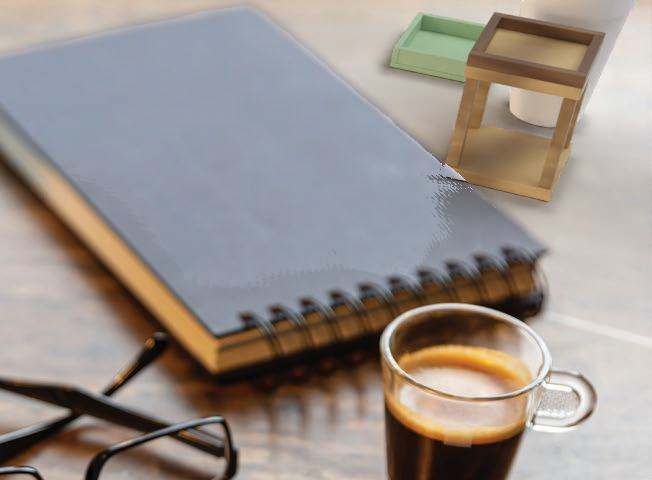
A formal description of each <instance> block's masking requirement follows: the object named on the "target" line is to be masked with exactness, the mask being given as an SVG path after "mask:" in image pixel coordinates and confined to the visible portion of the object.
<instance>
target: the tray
mask: <svg viewBox="0 0 652 480" xmlns="http://www.w3.org/2000/svg"><path fill="white" fill-rule="evenodd" d="M415 15H416V16H415V17H414V18H413V20H412V21H411V22H410V24H409V25H408V27H407V28H406V30H405V31H404V32H403V33H402V34H401V36H400V38H399V39H398V41H397V42H396V43H395V44H394V46H393V48H392V53H391V58H390V64H389V67H391V68H394V69H399V70H405V71H408V72H409V71H410V72H414V73H419V74H424V75H427V76H428V75H429V76H433V77H438V78H442V79H447V80H452V81H457V82H462V83H465V80H466V77H464V72H465V67H466V63H467V59H468V54H469V52H470V51H471V49H472V48H473V46H474V44H475V43H476V41H477V39H478V38H479V36H480V35H481V33H482V31H483V30H484V28H485V26H486V25H487V24H485V23H480V22H474V21H469V20H464V19H459V18H454V17H448V16H443V15H438V14H433V13H427V12H421V11H418V13H417V14H415Z"/></svg>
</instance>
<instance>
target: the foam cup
mask: <svg viewBox="0 0 652 480" xmlns="http://www.w3.org/2000/svg"><path fill="white" fill-rule="evenodd" d="M637 1H638V0H520V4H519V5H520V6H519V13H518V14H519V15H518V16H519V17H524V18H530V19H535V20H540V21H546V22H551V23H556V24H562V25H567V26H572V27H578V28H583V29H588V30H594V31H599V32H604V33H606V35H605V38H604V42H603V44H602V48H601V52H600V55H599V57H598V59H597V62H596V64H595V66H594V68H593V71H592V73H591V76H590V79H589V82H588V86H587V89H586V92H585V96H584V99H583V102H582V106H581V109H580V112H579V116H578V119H577V123H578V122H579V121H580V120H581V119H582V117H583V113H584V112H585V111H586V109H587V107H588V104H589V102H590V100H591V97H592V96H593V93H594V91H595V89H596V87H597V85H598V83H599V80H600V78H601V76H602V74H603V71H604V69H605V68H606V65H607V63H608V61H609V59H610V57H611V54H612V52H613V49H614V48H615V45H616V44H617V41H618V38H619V37H620V35H621V32H622V31H623V27H624V26H625V24H626V22H627V19H628V17H629V15H630V12H631V11H632V10H633V9H635V7H636V4H637ZM509 93H510V94H509V103H508V105H509V112H510V113H511V114H512V115H514V116H515V118H517V119H518V120H521V121H523V122H525V123H527V124H529V125H532V126H539V127H544V128H555V126H556V122H557V119H558V115H559V112H560V108H561V105H562V101H563V98H564V97H560V96H555V95H550V94H545V93H540V92H535V91H530V90H526V89H521V88H516V87H511V86H510V92H509Z"/></svg>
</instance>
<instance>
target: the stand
mask: <svg viewBox="0 0 652 480" xmlns="http://www.w3.org/2000/svg"><path fill="white" fill-rule="evenodd" d="M485 25H486V26H485V28H484V30H483V31H482V33H481V35H480V36H479V38H478V39H477V41H476V43H475V44H474V46H473V48H472V49H471V51H470V52H469V54H468V59H467V63H466V67H465V72H464V77H466V80H465V82H464V85H463V89H462V94H461V98H460V101H459V107H458V111H457V115H456V119H455V123H454V127H453V133H452V137H451V141H450V146H449V149H448V154H447V157H446V159H445V161H444V163H446V164H447V165H448V166H450V167H451V168H453V169H454V170H455V171H456V172H457V173H459V174H460V175H461V176H462V177H463V178H464V179H465V180H466V181H467V182H468V184H471V185H477V186H481V187H485V188H488V189H494V190H498V191H503V192H506V193H510V194H515V195H519V196H524V197H527V198H532V199H536V200H540V201H545V202H550V201H551V199H552V196H553V194H554V192H555V189H556V187H557V185H558V182H559V180H560V178H561V175H562V173H563V170H564V168H565V167H566V164H567V161H568V159H569V157H570V154H571V152H572V148H573V144H574V143H572V140H573V136H574V132H575V128H576V125H577V123H578V122H577V119H578V116H579V112H580V109H581V106H582V102H583V99H584V96H585V92H586V89H587V86H588V82H589V79H590V76H591V73H592V71H593V68H594V66H595V64H596V62H597V59H598V57H599V55H600V52H601V48H602V44H603V42H604V38H605V35H606V33H604V32H599V31H594V30H588V29H583V28H578V27H572V26H567V25H562V24H556V23H551V22H546V21H540V20H535V19H530V18H524V17H519V15H513V14H508V13H502V12H497V11H494V12H493V13H492V15H491V16H490V18H489V20H488V22H487V23H486V24H485ZM492 84H498V85H503V86H506V87H510V88H511V87H516V88H521V89H526V90H530V91H535V92H540V93H545V94H550V95H555V96H560V97H564V98H563V101H562V105H561V108H560V112H559V115H558V119H557V122H556V126H555V127H554V128H553V129H554V130H553V133H552V136H551V138H549V137H544V136H540V135H537V134H536V135H535V134H531V133H527V132H523V131H522V132H521V131H517V130H513V129H508V128H503V127H499V126H496V125H495V126H494V125H489V124H486V123H483V120H484V115H485V111H486V107H487V104H488V99H489V95H490V91H491V88H492V87H491V86H492ZM467 182H466V183H467Z"/></svg>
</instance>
